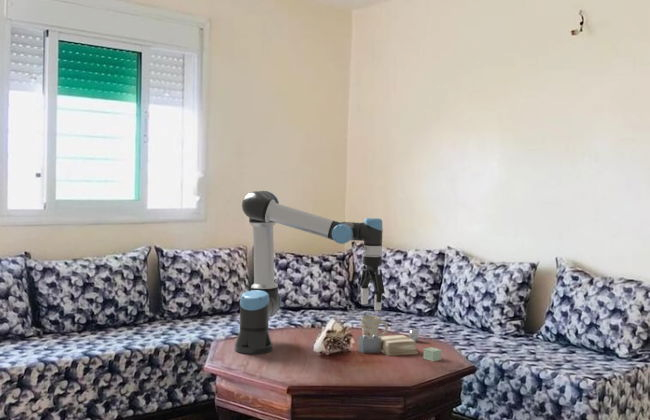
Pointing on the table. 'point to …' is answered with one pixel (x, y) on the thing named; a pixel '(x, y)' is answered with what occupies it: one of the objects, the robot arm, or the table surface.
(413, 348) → the plinth
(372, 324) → the mug
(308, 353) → the table surface
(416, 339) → the grey bushing
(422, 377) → the table surface
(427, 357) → the sage block
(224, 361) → the table surface
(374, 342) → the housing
